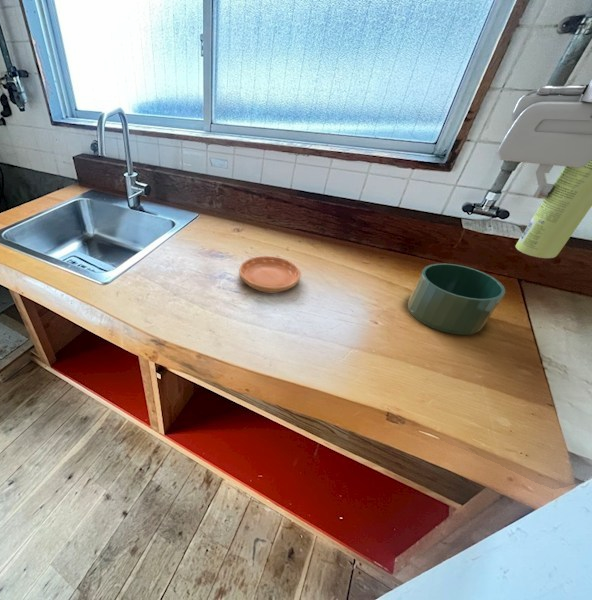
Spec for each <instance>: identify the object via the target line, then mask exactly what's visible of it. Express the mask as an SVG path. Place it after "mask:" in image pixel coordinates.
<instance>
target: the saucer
mask: <svg viewBox="0 0 592 600" xmlns="http://www.w3.org/2000/svg"><path fill="white" fill-rule="evenodd" d="M238 273H239V276H240V278H241V280H242V281H243V282H244V283H245V284H247V285H248V286H249V287H251V288H252V289H254V290H257V291H259V292H264V293H271V294H272V293H273V294H274V293H280V292H285V291H287V290H290V289H291V288H293V287H295V286H296V285H297V284H298V283H299V282H300V280H301V277H302V272H301V270H300V268H299V267H298V266H297V265H296V264H295V263H293V262H292V261H289V260H287V259H285V258H282V257H277V256H270V255H259V256H254V257H250V258H248V259H246V260H244V261H243V262H242V263H241V264H240V266H239V269H238Z"/></svg>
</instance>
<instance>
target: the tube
mask: <svg viewBox="0 0 592 600" xmlns="http://www.w3.org/2000/svg"><path fill="white" fill-rule="evenodd" d="M553 184H554V186H553V188H552V189H551V191H550V192H549V194H548V196H547V198H546V199H544V198H543V201H542V202H541V204H540V205H539V207H538V208H537V210H536V212H535V213H534V215H533V216H532V218H531V220H530V221H529V223H528V225H527V226H526V228H525V229H524V231H523V233H522V234H521V236H520V237H519V239H518V241H517V242H516V244H515V249H516V250H517V251H518V252H521V254H525V255H527V256H530V257H535V258H538V259H554V258H556V257H557V256H558V255H559V254H560V253H561V251H562V249H563V248H564V247H565V246H566V244H567V243H568V241H569V240H570V238H571V236H573V234H574V232H575V231H576V229H577V228H578V227H579V225H580V224H581V223H582V221H583V219H584V218H585V217H586V215H587V213H588V212H589V211H590V210H591V208H592V159H591V160H590V161H589V163H587V164H586V165H585V166H584V167H582V168H577V167H567V166H563V169H562V170H561V171H560V173H559V175H558V177H557V179H555V181H554V183H553Z"/></svg>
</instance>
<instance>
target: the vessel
mask: <svg viewBox="0 0 592 600" xmlns="http://www.w3.org/2000/svg"><path fill="white" fill-rule="evenodd" d="M505 294H506V289H505V286H504V285H503V283H502V282H500V281H499V280H498V279H496V278H495V277H494V276H492V275H489V274H488V273H486V272H484V271H481V270H479V269H476V268H473V267H469V266H465V265H460V264H456V263H455V264H454V263H445V262H443V263H433V264H429V265H426V266H425V267H424V268H423V269H422V270H421V272H420V274H419V277H418V279H417V281H416V283H415V285H414V288H413V290H412V292H411V294H410V297H409V299H408V301H407V309H408V311H409V312H410V314H411V315H412V316H413V318H415V319H416V320H417V321H419V322H420V323H422V324H423V325H425V326H427V327H429V328H432V329H434V330H437V331H440V332H442V333H447V334H452V335H459V336H467V335H468V336H470V335H474V334H477V333H478V332H480V331H481V330H482V329H483V328H484V327H485V325H486V323H487V322H488V321H489V319H490V317H491V316H492V314H493V313H494V311H495V310H496V308H497V307H498V305H500V303H501V301H502V299H503V298H504V297H505Z"/></svg>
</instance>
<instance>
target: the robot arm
mask: <svg viewBox="0 0 592 600" xmlns="http://www.w3.org/2000/svg"><path fill="white" fill-rule="evenodd" d="M533 94H534V95H533ZM511 118H512V121H513V123H512V125H511V126H510V128H509V130H508V131H507V133H506V134H505V136H504V138H503V139H502V141H501V143H500V145H499V146H498V149H497V151H496V155H497V157H498V159H499V160H500V161H506V162H514V163H525V164H526V163H527V164H537V165H538V167H537V168H536V171H535V176H536V180H537V185H538V187H536V189H535V192H534V193H533V195H532V198H535V199H536V198H538V199H543V200H544V199H546V198H547V196H548V194H549V192H550V191H551V189H552V188H553V186H554V183H548V181H547V175H546V174H549V173H551V170H552V169H553V167H554V166H557V167H565V166H567V167H577V168H582V167H584V166H585V165H586V164H587V163H589V161H590V160H591V159H592V79H591V80H590V82H589V83H588V84H568V85H553V84H552V85H542V86H539V87H538V88H537V89H533V90H530V91H528V92H527V93H525V94H523V96H522V97H520V98H519V100H518V101H517V103H516V105H515V108H514V109H513V111H512V115H511Z"/></svg>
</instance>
